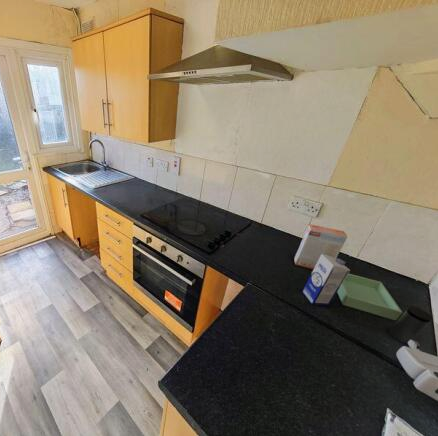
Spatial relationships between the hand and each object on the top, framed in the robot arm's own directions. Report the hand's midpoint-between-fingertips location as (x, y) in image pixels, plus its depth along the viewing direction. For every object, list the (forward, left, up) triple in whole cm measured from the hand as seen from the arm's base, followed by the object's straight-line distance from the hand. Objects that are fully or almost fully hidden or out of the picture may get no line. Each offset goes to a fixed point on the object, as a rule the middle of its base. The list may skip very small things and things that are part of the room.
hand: (432, 348), depth 66 cm
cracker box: (+22, -42, -8) cm, 48 cm away
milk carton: (+24, -18, -8) cm, 31 cm away
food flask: (0, -10, -8) cm, 13 cm away
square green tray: (+6, -28, -8) cm, 29 cm away
